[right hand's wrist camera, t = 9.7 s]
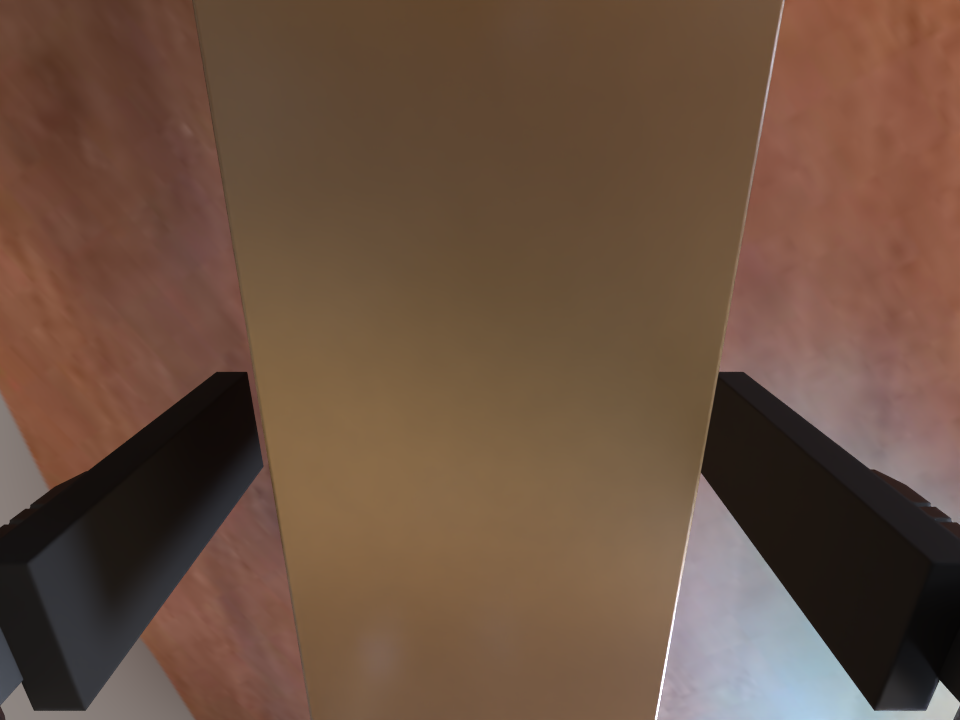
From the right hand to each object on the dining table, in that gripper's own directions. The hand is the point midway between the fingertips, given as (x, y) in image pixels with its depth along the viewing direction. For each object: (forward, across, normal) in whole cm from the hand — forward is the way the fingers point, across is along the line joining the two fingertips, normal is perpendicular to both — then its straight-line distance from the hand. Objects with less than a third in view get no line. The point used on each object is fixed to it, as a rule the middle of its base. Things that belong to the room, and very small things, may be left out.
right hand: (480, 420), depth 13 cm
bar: (+2, 0, -7) cm, 7 cm away
